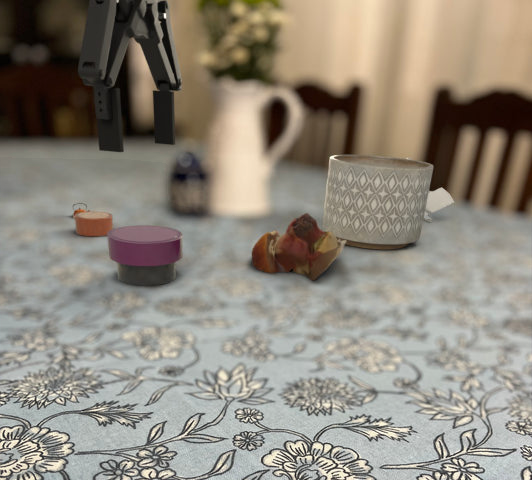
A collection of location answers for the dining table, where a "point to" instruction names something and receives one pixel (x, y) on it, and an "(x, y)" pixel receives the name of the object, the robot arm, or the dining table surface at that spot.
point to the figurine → (437, 200)
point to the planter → (376, 200)
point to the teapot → (79, 210)
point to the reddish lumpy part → (297, 249)
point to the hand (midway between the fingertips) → (140, 147)
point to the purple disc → (145, 245)
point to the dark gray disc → (146, 274)
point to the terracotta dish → (93, 223)
